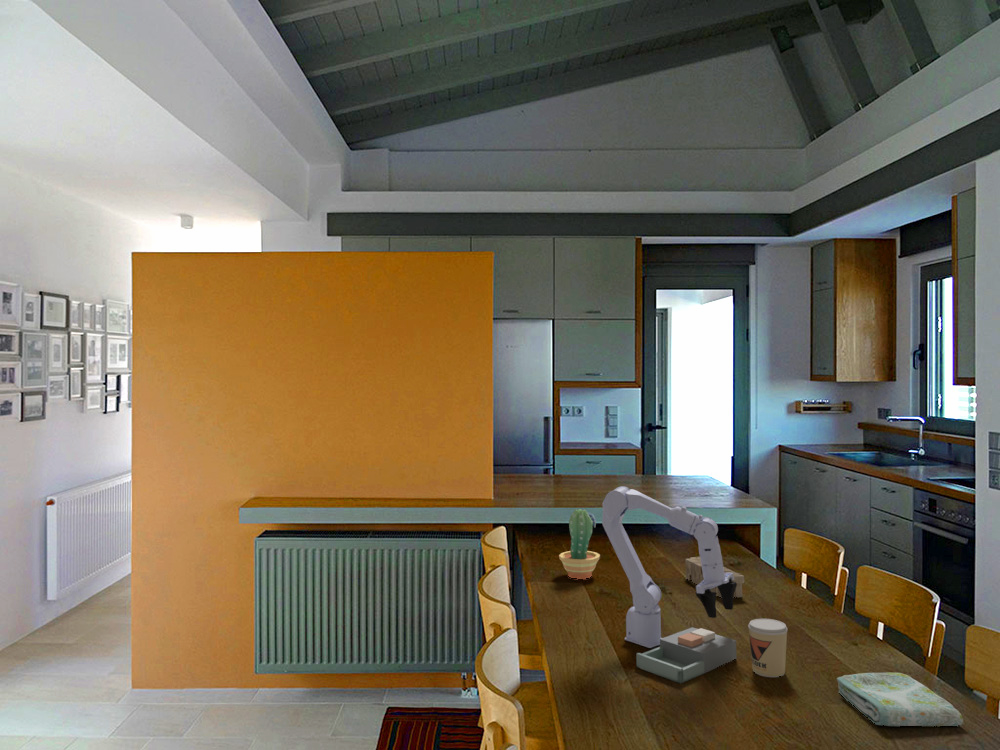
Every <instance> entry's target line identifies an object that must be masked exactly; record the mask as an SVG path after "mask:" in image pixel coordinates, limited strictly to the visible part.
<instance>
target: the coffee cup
mask: <svg viewBox="0 0 1000 750" xmlns="http://www.w3.org/2000/svg"><path fill="white" fill-rule="evenodd" d="M747 627H748V631H749V633H748V634H749V636H748V637H749V644H750V646H749V647H750V658H751V667H752V671H753V672H755V673H754V674H756V675H758V676H762V677H766V678H780V677H779V676H781V677H783V676H784V675H785V673H786V672H785V671H786V661H787V660H786V658H787V643H788V642H787V639H788V638H787V637H788V636H787V635H788V627H787V625H786V623H784V622H782V621H781V620H777V619H772V618H755V619H752V620H750V621H749V623H748V626H747Z"/></svg>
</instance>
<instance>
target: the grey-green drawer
mask: <svg viewBox="0 0 1000 750" xmlns="http://www.w3.org/2000/svg"><path fill="white" fill-rule="evenodd" d="M635 655H636V657H635V658H636V668H638V669H641V670H643V671H646V672H649V673H652V674H654V675H657V676H659V677H662V678H665V679H668V680H670V681H672V682H675V683H679V684H682V683H683V684H684V683H685V682H688V681H690V680H692V679H695V678H698V677H699V676H701V675H704V674H705V673H704V661H701V660H700V661H698V662H696V663H693V664H691V665H688V666H686V665H683V664H681V663H678V662H675V661H672V660H669V659H666V658H663V648H662V647H660V646H658V647H654V648H652V649H651V650H650V649H649V650H648V651H644V652H643V653H641V652H636V654H635Z"/></svg>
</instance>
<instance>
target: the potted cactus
mask: <svg viewBox="0 0 1000 750" xmlns="http://www.w3.org/2000/svg"><path fill="white" fill-rule="evenodd" d="M596 525H597V518H596V517H595V515H594V514H593V513H592V512H590V511H587V510H586V509H583V510H582V509H581V508H579V509H575V510H574V511H573V512H572V514H571V515H570V517H569V519H568V526H569V527H568V528H569V529H568V530H569V534H570V539H571V540H570V550H569V551H564V552H561V553H560V554H558V558H559V560H560V561H561V562H562V566H563V568H564V570H565V571H566V572H567V573H568V574H567V577H568V576H569V577H571V578H577V579H576V580H578V579H583V580H587V579H586V578H589V579H591V578H592V577H593V574H592V573H593V572H594V570H595V568H596V567H597V563H598V562H599V560H600V559H601V554H600V553H598V552H595V551H590V550H588V548H589V544H590V540H591V537H592V534H593V528H596ZM591 576H592V577H591ZM569 577H568V578H569ZM590 577H591V578H590ZM571 578H570V579H571Z"/></svg>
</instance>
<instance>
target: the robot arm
mask: <svg viewBox="0 0 1000 750" xmlns="http://www.w3.org/2000/svg"><path fill="white" fill-rule="evenodd" d="M601 505H602V516H601V517H602V520H601V521H602V522H601V524H602V527H603V529H604V532H605V533H606V535H607V537H608V540H609V542H610V543H611V545H612V548H613V550H614V552H615V554H616V556H617V558H618V560H619V562H620V564H621V567H622V569H623V571H624V573H625V574H626V576H627V579H628V581H629V590H630V593H631V595H632V605H633V606H631V607H630V608H629V609H628V610H627V613H626V616H625V626H626V627H625V629H626V630H625V631H626V632H625V633H626V634H625V635H626V636H625V637H624V640H625V641H627V642H630V643H634V644H636V645H639V646H643V647H645V648H648V649H653V648H656V647H657V646H660V639H662V638H663V637H662V627H661V624H662V623H661V621H662V619H661V618H662V617H661V613H662V612H661V607H660V605H659V602H660V601H661V599H662V591H661V589H660V587H659V586H658V585H657V584H656V583H655V582H654V580H653V579H652V577H651V576H650V575H649V574H647V572H646V571H645V567H643V564H642V562H641V561H640V558H639V556H638V554H637V552H636V550H635V548H634V546H633V544H632V542H631V540H630V537H629V535H628V533H627V531H626V530H625V528H624V526H623V523H622V522H623V519H624V516H625V514H626V512H627V510H628V511H631V510H636V509H642V510H644V511H647V512H649V513H651V514H654V515H656V516H659V517H661V518H664V519H666V520H667V522H668V524H669V526H671V527H673V528H675V529H677V530H681V531H682V532H683V533H687V534H689V535H691V536H693V537H694V538H695V540H697V544H698V554H699V557H700V560H701V566H702V571H703V577H704V580H703V581H702V582H701V583H700V584H699V585H695V590H696V591H695V596H696V597H697V599H698V600H699V601H700V603H701V604H702V606H703V607H704V609H705V612H706V615H707V616H708V618H712V619H713V618H714V619H715V618H717V607H716V600H717V596H716V594H717V593H715V592H711V591H710V589H712V588H714V587H718V589H719V591H720V594H721V597H722V599H721V600H722V604H723V608H724V609H725V610H729V611H732V610H733V609H734V599H735V598H734V592H735V589H736V586H737V583H736V582H733V581H732V580H734V575H733V573H724V567H725V566H724V563H723V556H722V553H721V552H722V551H721V546H720V543H719V542H720V541H719V538H718V535H717V534H718V532H719V527H718V524H717V522H716V521H715V520H714V519H712V518H711V517H709V516H704V515H702V514H697V513H694V512H692V511H690V510H688V509H687V507H686V506H685V505H683V506H681V507H680V506H678V505H677V506H674V507H670V506H668V505H666V504H664V503H662V502H660V501H658V500H657V499H654V498H652V497H650V496H648V495H646V494H644V493H643V492H640V491H639V490H636V489H633V488H631V489H630V488H629V487H627V486H624V485H621V486H618V487H616V488H615V489H613V490H611V491H609V492H608V493H607V494H606V495H605V497H604V499H603V502H602V504H601Z"/></svg>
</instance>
